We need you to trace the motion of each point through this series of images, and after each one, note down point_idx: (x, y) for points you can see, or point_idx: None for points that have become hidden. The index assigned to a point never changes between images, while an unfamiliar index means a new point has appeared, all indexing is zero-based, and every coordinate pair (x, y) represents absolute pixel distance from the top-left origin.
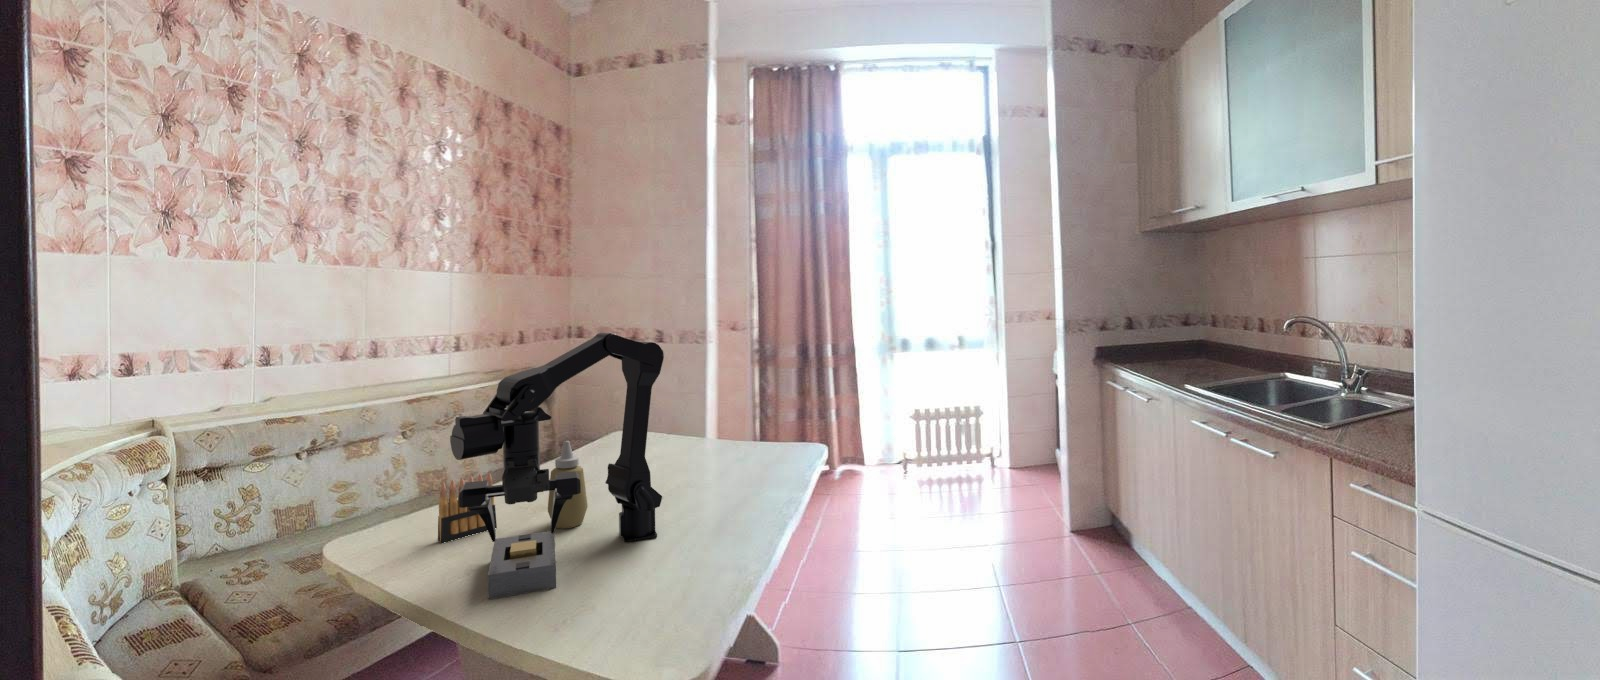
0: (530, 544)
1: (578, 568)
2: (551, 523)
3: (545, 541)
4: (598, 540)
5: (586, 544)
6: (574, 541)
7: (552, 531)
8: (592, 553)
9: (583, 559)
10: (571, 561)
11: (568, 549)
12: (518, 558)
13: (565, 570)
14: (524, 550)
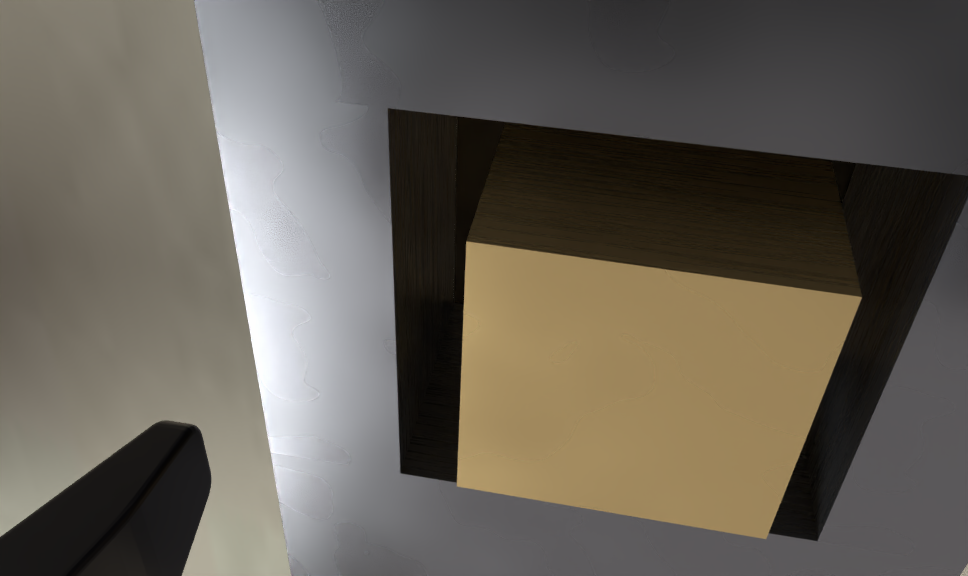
0: (535, 400)
1: (95, 24)
2: (87, 560)
3: (368, 469)
4: (40, 472)
5: None
6: (221, 536)
7: (159, 443)
8: (31, 287)
9: (87, 208)
10: (194, 221)
11: (251, 444)
12: (747, 142)
13: None
14: (638, 262)
